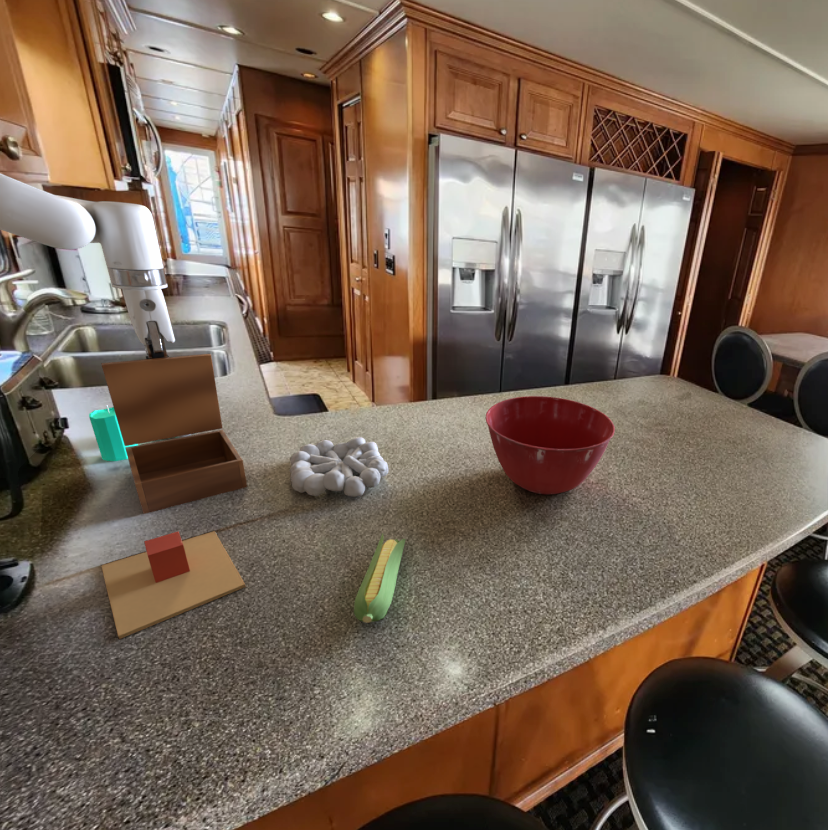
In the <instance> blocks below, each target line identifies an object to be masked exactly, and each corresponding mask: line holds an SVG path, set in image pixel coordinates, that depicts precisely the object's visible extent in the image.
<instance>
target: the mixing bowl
mask: <svg viewBox="0 0 828 830" xmlns="http://www.w3.org/2000/svg"><path fill="white" fill-rule="evenodd" d="M485 421H486V423H485V424H486V425H487V427H488V432H489V435H490V439H491V443H492V447H493V449H494V452H495V455H496V457H497V460H498V462H499V465H500V466H501V468H502V470H503V472H504V473H505V475H506V477H508V479H510V480H511V481H512V482H513V483H514V484H515V485H517V486H518V487H520V488H522V489H524V490H526V491H528V492H530V493H533V494H539V495H558V494H561V493H566V492H569V491H571V490H573V489H575V488H577V487H578V486H580V485H581V484H582V483H583V482H584V481H585V480H586V479H587V478H588V477H589V476H590V475H591V474H592V472H593V470H594V469H595V468H596V466H597V465H598V464H599V462H600V460H601V458H602V457H603V455H604V454H605V452H606V450H607V447H608V445H609V444H610V441H611V439H612V438H613V437H614V435H615V430H616V428H615V424H614V423H613V421H612V420H611V419H610V417H609V416H607V415H606V414H605V413H604V412H602V411H601V410H600V409H597V408H595V407H592V406H590V405H589V404H586V403H582V402H580V401H575V400H571V399H567V398H561V397H556V396H555V397H554V396H546V395H545V396H543V395H542V396H541V395H529V396H518V397H512V398H507V399H504V400H501V401H499V402H497V403H494V404H493V405H492V406H490V408H488V410H487V411H486V413H485Z"/></svg>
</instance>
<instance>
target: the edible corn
mask: <svg viewBox="0 0 828 830" xmlns="http://www.w3.org/2000/svg"><path fill="white" fill-rule="evenodd" d="M384 537H385V536H384V533H383V532H382V534H381V536H380V539H379V541H378V542H377V543H378V544H377V546H376V549H375V552H374V553H373V556H372V558H371V561H370V563H369V566H368V568H367V570H366V572H365V575H364V577H363V580H362V582H361V583H360V586H359V589H358V591H357V593H356V596H355V598H354V603H353V604H354V605H353V606H354V607H353V614H354V617H355V618H356V619H357V620H358V621H359V622H363V623H365V624H366V623H367V624H368V623H375V622H379V621H381V620H383V619H384V618H385V617H386V616H387V615H388V612H389V608H390V606H391V605H392V602H393V598H394V594H395V590H396V584H397V578H398V575H399V569H400V565H401V560H402V557H403V552H404V548H405V544H406V540H407V538H401V540H399V539H397V538H396V539H387V540H386V541H385V542H384V540H385V538H384Z"/></svg>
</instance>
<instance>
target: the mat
mask: <svg viewBox="0 0 828 830" xmlns="http://www.w3.org/2000/svg"><path fill="white" fill-rule="evenodd" d="M181 540H182V542H183V545H184V549H185V553H186V557H187V561H188V565H189V569H190V571H189V572H186V573H184V574H181V575H178V576H175V577H172V578H169V579H166V580H163V581H160V582H157V583H156V582H155V579H154V576H153V572H152V569H151V565H150V562H149V559H148V555H147V551H146V550H145V551H142V552H141V551H140V552H138V553H134V554H132V555H129V556H126V557H122V558H119V559H115V560H112V561H109V562H105V563H102V564H100V568H101V571H102V575H103V580H104V583H105V587H106V592H107V597H108V600H109V605H110V609H111V613H112V617H113V622H114V626H115V628H116V629H115V631H116V633H117V637H118V640H121V639H123V638H126V637H128V636H131V635H133V634H135V633H138V632H140V631H142V630H146V629H148V628H151V627H153V626H155V625H157V624H160V623H162V622H165V621H167V620H169V619H171V618H175V617H177V616H179V615H181V614H185V613H187V612H189V611H191V610H193V609H196V608H198V607H201V606H203V605H206V604H209V603H211V602H214V601H215V600H218V599H220V598H223V597H225V596H228V595H230V594H232V593H235V592H237V591H240V590H243V589H244V588H246V586H247V585H246V583H245V581H244V580H243V578H242V576H241V575H240V572H239V571H238V569H237V567H236V566H235V564H234V562H233V560H232V559H231V557H230V555H229V554H228V552H227V550H226V548H225V546H224V544H223V543H222V541H221V539H220V538H219V536H218V534H217V533H216V530H211V531H210V530H209V531H207V532H204V533H202V534H198V535H193V536H191V537H188V538H184V539H181Z"/></svg>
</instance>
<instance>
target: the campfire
mask: <svg viewBox="0 0 828 830" xmlns="http://www.w3.org/2000/svg"><path fill="white" fill-rule="evenodd" d="M378 447H379V446H378V444H377V443H376V442H375V441H366V439H365V438H364V437H362V436H356V437H352V438H350V440H348V441H345V442H344V441H343V442H338V443H336V444H335V445H334V443H333V442H332V441H331V440H328V439H322V440H320V441H318V442H317V443H315V444H312V443H307V444H304V445H302V446H300V447H299V450H297V451H295V452H293V453H292V454H291V455H290V456H289V463H290V468H289V472H290V478H289V479H290V481H291V487H292V489H293V490H294V491H295V492H298V493H301V494H302V493H305V492H306V494H307V495H309V496H313V497H319V496H320V495H322V494H324V493H325V492H326V490H328V491H332V492H342V491H343V494H344V495H346V496H347V497H353V498H355V497H361V496H363V495H364V493H365V491H366V488H368V489H369V488H371V489H372V488H375V487H377V486H378V485H379V484H380V482H381V478H383V477H386V476H387V475H388V474H389V465H388V462H387V461H385V459H384V458H383V456H382V455H381V454H380V452H379V448H378ZM353 471H354V472H357V474H359V476H356V475H354V473H353Z"/></svg>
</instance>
